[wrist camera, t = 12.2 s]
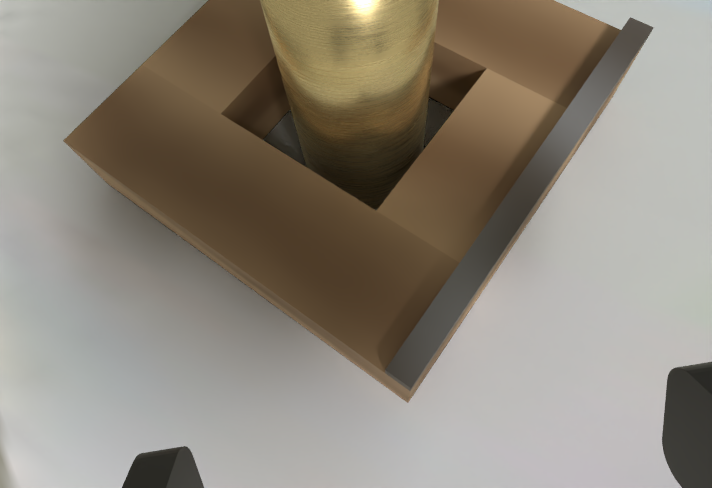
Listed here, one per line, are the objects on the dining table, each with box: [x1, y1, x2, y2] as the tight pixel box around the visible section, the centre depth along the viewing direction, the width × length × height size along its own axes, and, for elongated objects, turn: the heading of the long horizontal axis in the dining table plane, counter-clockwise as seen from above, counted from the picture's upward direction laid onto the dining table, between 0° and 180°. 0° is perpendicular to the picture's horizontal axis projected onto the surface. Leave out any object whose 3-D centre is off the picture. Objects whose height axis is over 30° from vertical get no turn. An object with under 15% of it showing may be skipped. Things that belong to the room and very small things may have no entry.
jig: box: [63, 0, 653, 403], centre depth 19 cm, size 14×14×4 cm
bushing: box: [260, 0, 439, 209], centre depth 15 cm, size 5×5×12 cm
